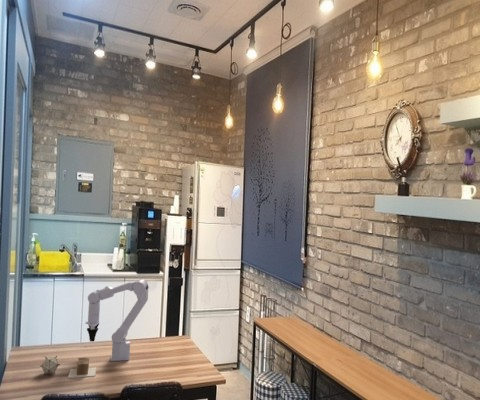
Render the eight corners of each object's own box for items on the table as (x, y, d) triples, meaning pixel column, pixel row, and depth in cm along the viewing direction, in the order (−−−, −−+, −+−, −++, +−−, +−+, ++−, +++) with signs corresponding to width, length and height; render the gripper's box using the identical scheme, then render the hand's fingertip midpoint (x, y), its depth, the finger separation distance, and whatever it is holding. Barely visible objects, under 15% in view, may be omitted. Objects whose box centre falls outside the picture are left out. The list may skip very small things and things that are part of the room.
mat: (96, 368, 199) (96, 367, 199) (94, 376, 190) (95, 375, 190) (70, 370, 196) (70, 369, 196) (68, 378, 186) (68, 377, 186)
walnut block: (89, 357, 199) (88, 363, 191) (88, 367, 199) (87, 374, 191) (78, 357, 198) (77, 364, 189) (78, 367, 198) (76, 375, 189)
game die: (50, 382, 189) (49, 371, 183) (36, 374, 191) (35, 362, 185) (64, 368, 196) (63, 356, 191) (50, 359, 198) (49, 348, 192)
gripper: (86, 310, 220) (85, 335, 219) (85, 317, 206) (83, 343, 205) (100, 310, 222) (99, 334, 221) (99, 317, 208) (97, 343, 207)
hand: (92, 338), depth 213 cm, fingers open, 7 cm apart
